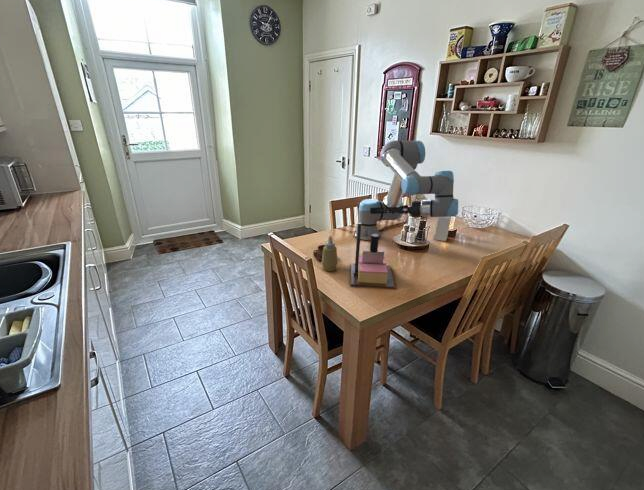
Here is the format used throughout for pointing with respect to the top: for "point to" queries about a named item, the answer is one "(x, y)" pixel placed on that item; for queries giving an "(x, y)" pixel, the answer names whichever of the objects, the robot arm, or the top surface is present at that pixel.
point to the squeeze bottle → (329, 255)
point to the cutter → (373, 252)
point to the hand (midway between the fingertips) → (374, 210)
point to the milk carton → (442, 228)
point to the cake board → (374, 285)
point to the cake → (372, 272)
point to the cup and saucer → (319, 252)
